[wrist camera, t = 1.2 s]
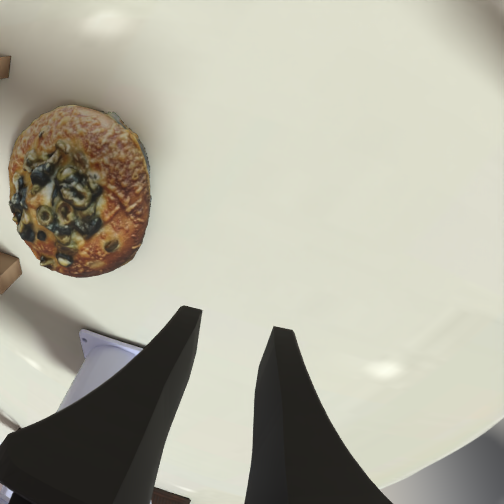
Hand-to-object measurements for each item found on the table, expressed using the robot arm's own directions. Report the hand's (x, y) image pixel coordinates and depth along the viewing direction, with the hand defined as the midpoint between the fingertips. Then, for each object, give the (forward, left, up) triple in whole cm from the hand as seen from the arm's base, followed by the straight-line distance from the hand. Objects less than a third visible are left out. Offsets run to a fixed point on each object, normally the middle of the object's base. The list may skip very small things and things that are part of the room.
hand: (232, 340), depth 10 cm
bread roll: (0, +11, -9) cm, 14 cm away
